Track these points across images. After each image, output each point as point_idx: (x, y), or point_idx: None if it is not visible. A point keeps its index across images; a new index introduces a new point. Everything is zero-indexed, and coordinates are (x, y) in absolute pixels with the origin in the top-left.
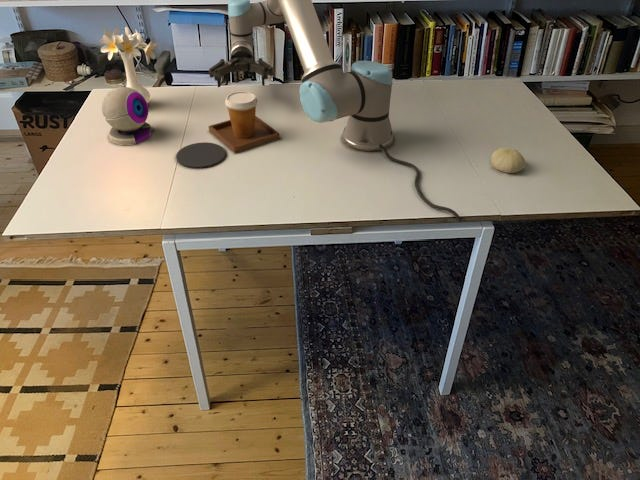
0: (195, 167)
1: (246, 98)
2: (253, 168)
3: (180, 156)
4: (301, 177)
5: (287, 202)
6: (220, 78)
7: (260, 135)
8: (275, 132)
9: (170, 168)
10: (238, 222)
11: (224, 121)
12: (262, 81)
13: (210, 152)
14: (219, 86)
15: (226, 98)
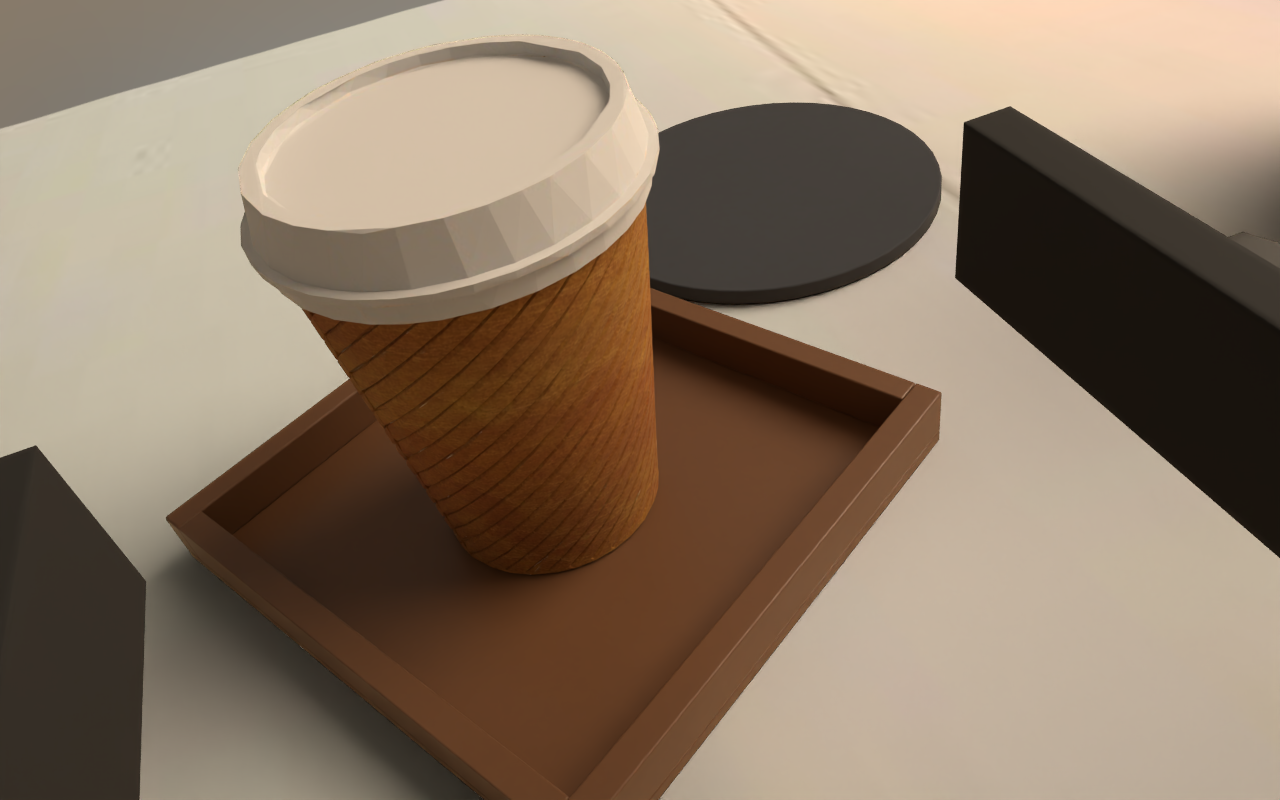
0: (714, 116)
1: (364, 154)
2: None
3: (875, 133)
4: (80, 255)
5: (175, 128)
6: (1125, 341)
7: (383, 519)
8: (207, 516)
9: (861, 85)
10: (370, 23)
11: (833, 519)
12: (82, 522)
13: (705, 214)
14: (971, 266)
15: (605, 56)
